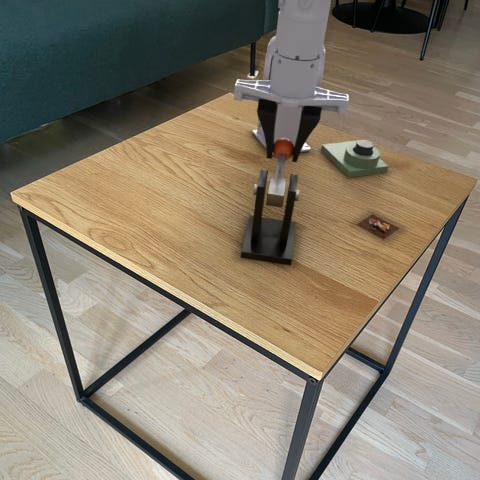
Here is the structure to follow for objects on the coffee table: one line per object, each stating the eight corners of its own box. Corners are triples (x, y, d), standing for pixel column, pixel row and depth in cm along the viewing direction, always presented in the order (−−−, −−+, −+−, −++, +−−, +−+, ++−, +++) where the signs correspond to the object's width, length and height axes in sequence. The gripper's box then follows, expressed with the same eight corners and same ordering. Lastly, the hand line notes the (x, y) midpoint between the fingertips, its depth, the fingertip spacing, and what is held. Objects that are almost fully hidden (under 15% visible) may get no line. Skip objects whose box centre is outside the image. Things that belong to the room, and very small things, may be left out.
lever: (273, 148, 71) (275, 131, 68) (293, 151, 71) (296, 134, 68) (262, 206, 66) (264, 191, 63) (285, 210, 66) (287, 194, 63)
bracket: (248, 220, 74) (255, 160, 67) (295, 227, 74) (306, 167, 67) (240, 257, 68) (246, 194, 61) (291, 265, 68) (303, 202, 61)
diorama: (382, 235, 74) (386, 224, 73) (361, 224, 76) (365, 212, 74) (392, 228, 76) (396, 216, 74) (372, 217, 78) (375, 206, 76)
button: (350, 149, 87) (353, 140, 86) (365, 148, 88) (367, 138, 87) (359, 157, 86) (362, 148, 84) (374, 156, 86) (377, 146, 85)
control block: (320, 150, 92) (323, 135, 90) (357, 146, 94) (361, 130, 92) (348, 177, 86) (352, 161, 84) (386, 172, 88) (391, 156, 86)
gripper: (233, 55, 57) (226, 163, 67) (358, 72, 57) (333, 178, 67) (242, 36, 62) (234, 139, 72) (357, 52, 62) (333, 154, 71)
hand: (282, 157), depth 70 cm, fingers closed on lever, 3 cm apart
